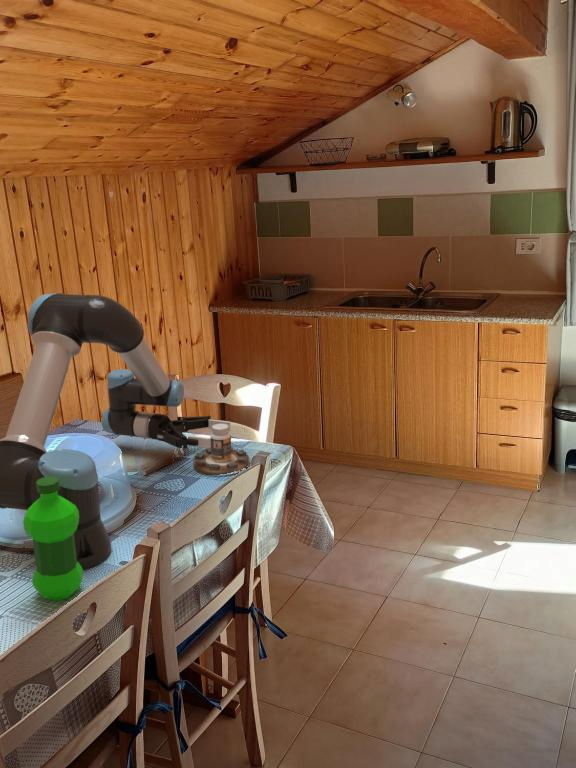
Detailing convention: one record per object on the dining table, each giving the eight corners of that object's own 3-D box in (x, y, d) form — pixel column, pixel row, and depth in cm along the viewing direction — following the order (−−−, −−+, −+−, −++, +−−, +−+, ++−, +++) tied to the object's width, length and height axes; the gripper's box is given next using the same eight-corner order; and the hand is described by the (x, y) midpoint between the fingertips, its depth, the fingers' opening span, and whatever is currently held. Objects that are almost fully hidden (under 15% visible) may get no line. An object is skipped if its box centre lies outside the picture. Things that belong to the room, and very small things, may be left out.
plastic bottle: (48, 577, 159) (35, 468, 152) (94, 582, 157) (84, 472, 150) (23, 604, 150) (8, 489, 143) (72, 610, 148) (60, 494, 141)
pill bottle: (228, 463, 212) (227, 430, 209) (208, 462, 213) (207, 429, 210) (233, 455, 217) (232, 423, 214) (214, 454, 218) (213, 422, 215)
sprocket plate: (240, 478, 206) (240, 470, 205) (185, 473, 210) (184, 465, 209) (255, 456, 221) (255, 448, 220) (203, 451, 224) (203, 444, 224)
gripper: (173, 423, 232) (237, 431, 225) (132, 454, 209) (201, 463, 203) (172, 400, 230) (236, 408, 223) (130, 428, 207) (200, 437, 200)
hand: (220, 434), depth 213 cm, fingers open, 13 cm apart
